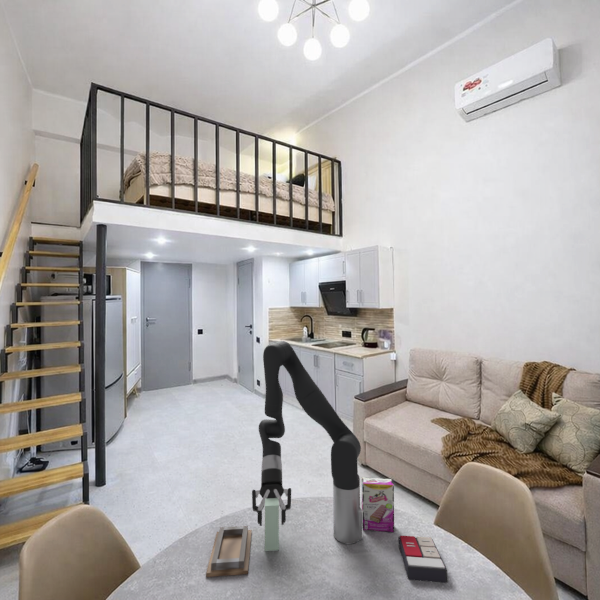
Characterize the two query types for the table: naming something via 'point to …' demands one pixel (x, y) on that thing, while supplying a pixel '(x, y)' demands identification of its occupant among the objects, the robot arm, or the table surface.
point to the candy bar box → (377, 504)
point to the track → (230, 552)
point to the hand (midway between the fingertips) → (271, 524)
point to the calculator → (422, 559)
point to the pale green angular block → (271, 524)
